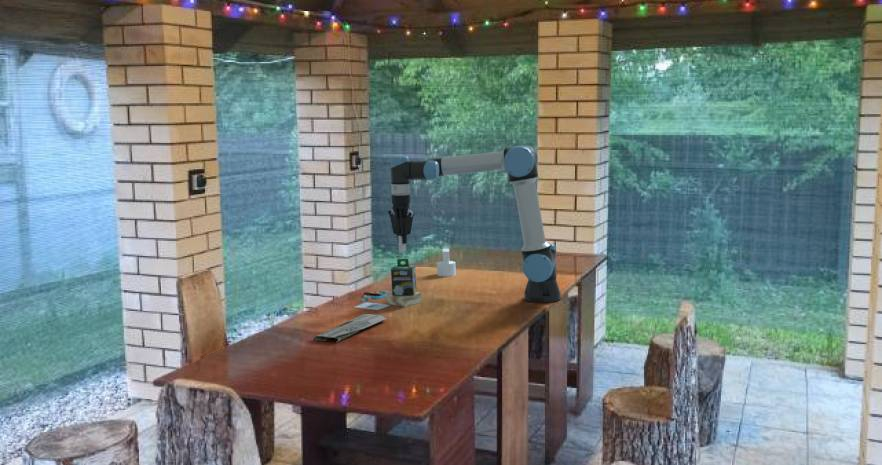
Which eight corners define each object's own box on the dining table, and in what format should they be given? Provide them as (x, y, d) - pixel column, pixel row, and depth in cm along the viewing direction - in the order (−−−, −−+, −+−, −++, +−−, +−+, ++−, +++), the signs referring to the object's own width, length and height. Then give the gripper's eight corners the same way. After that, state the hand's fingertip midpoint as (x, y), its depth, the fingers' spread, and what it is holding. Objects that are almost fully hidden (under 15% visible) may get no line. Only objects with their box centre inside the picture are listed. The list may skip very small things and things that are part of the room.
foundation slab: (421, 302, 352) (421, 292, 352) (405, 306, 345) (404, 297, 344) (403, 299, 359) (403, 290, 358) (387, 303, 351) (387, 294, 351)
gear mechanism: (351, 301, 360) (369, 303, 355) (350, 289, 359) (369, 290, 354) (377, 292, 377) (395, 293, 372) (377, 280, 376) (394, 281, 372)
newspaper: (361, 319, 329) (360, 310, 328) (389, 321, 323) (389, 312, 323) (311, 342, 297) (310, 333, 296) (341, 345, 292) (341, 335, 291)
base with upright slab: (455, 276, 405) (455, 251, 403) (436, 276, 405) (436, 252, 403) (455, 272, 414) (455, 248, 412) (437, 273, 414) (436, 248, 412)
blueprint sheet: (390, 305, 348) (390, 304, 348) (378, 310, 340) (378, 309, 340) (366, 302, 354) (366, 302, 354) (353, 307, 346) (353, 306, 346)
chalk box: (416, 291, 355) (415, 256, 353) (413, 296, 346) (412, 260, 344) (395, 291, 356) (393, 256, 354) (391, 296, 347) (390, 260, 345)
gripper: (382, 194, 346) (384, 251, 350) (406, 195, 338) (408, 254, 342) (395, 192, 352) (397, 248, 356) (418, 194, 344) (420, 251, 347)
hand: (402, 251), depth 349 cm, fingers closed
